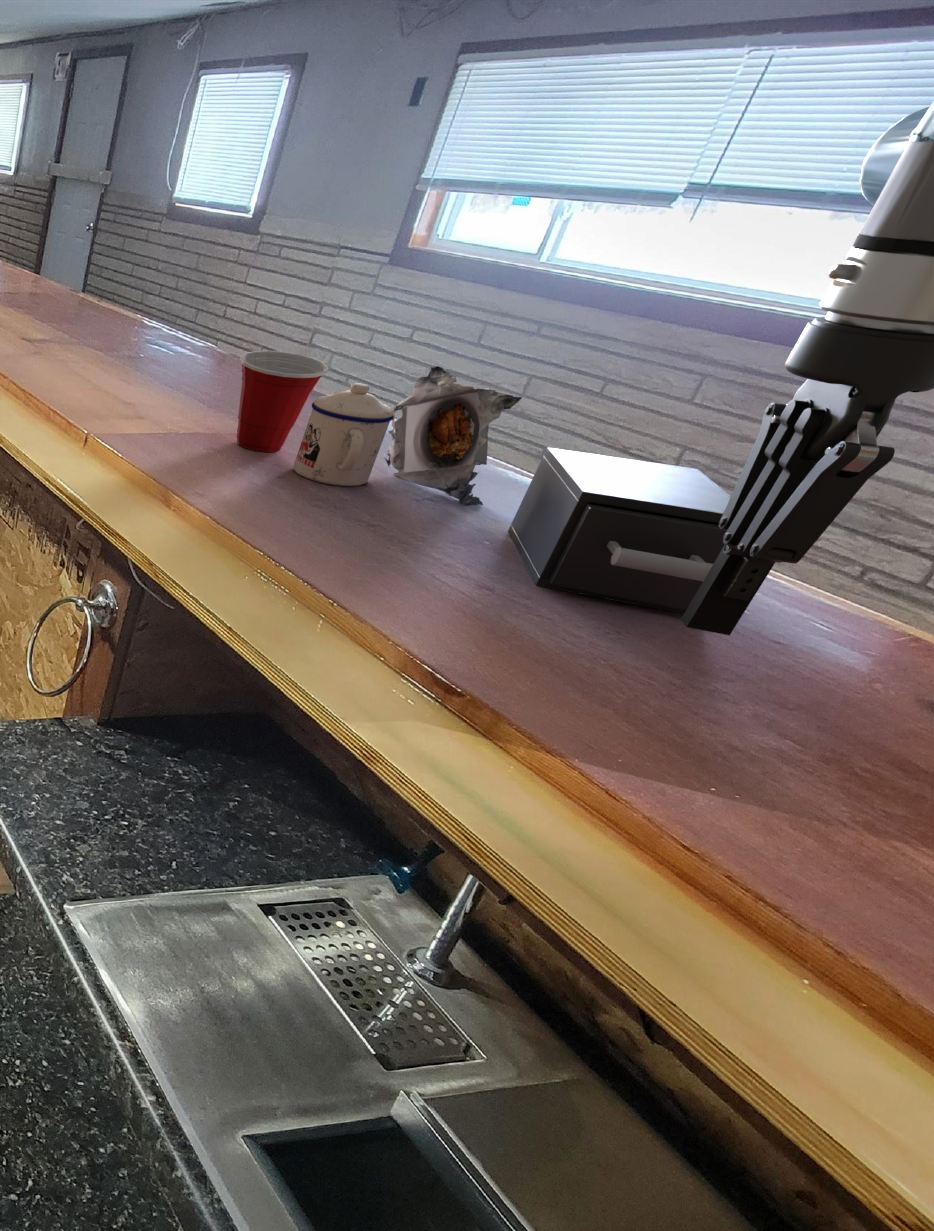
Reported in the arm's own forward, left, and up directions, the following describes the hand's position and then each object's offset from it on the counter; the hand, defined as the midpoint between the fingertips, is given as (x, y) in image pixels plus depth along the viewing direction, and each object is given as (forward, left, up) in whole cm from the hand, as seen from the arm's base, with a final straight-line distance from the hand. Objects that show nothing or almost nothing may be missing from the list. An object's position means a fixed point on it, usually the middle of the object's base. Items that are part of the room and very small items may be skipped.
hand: (704, 627), depth 72 cm
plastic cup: (+34, -49, -5) cm, 60 cm away
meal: (+14, -44, -5) cm, 47 cm away
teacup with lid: (+25, -39, -5) cm, 47 cm away
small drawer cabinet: (+1, -22, -4) cm, 23 cm away
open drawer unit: (+1, -18, -3) cm, 18 cm away
